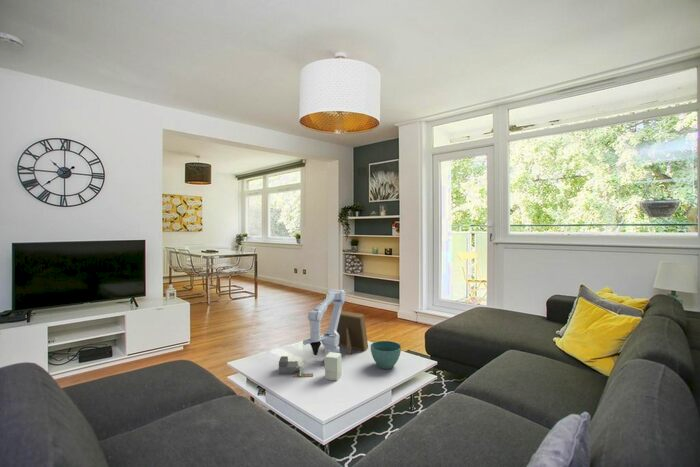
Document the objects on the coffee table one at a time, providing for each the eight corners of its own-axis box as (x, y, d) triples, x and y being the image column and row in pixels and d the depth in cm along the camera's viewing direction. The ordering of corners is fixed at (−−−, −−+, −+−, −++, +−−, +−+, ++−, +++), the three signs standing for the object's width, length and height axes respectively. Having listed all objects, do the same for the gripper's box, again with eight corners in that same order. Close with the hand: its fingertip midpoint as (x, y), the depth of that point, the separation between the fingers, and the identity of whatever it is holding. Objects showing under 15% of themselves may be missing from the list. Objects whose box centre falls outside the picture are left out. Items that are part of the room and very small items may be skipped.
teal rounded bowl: (365, 369, 205) (365, 348, 204) (376, 358, 221) (376, 338, 221) (395, 375, 197) (395, 353, 197) (404, 363, 214) (404, 343, 213)
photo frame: (341, 342, 248) (341, 308, 247) (368, 349, 237) (368, 312, 236) (329, 349, 236) (329, 313, 235) (356, 356, 224) (356, 317, 223)
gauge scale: (313, 373, 198) (313, 373, 198) (312, 376, 195) (312, 376, 195) (293, 374, 198) (293, 373, 198) (292, 377, 194) (292, 376, 194)
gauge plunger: (303, 367, 206) (303, 361, 206) (301, 376, 194) (301, 369, 194) (285, 367, 206) (285, 361, 205) (282, 376, 194) (282, 370, 194)
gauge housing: (297, 367, 206) (297, 356, 206) (295, 373, 198) (295, 361, 198) (281, 368, 206) (281, 356, 206) (278, 374, 198) (278, 361, 198)
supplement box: (341, 375, 196) (342, 353, 196) (337, 381, 189) (337, 358, 189) (329, 373, 199) (329, 351, 198) (324, 379, 192) (324, 356, 191)
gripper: (323, 327, 209) (323, 350, 210) (300, 331, 202) (300, 354, 202) (328, 330, 203) (328, 353, 203) (305, 334, 196) (305, 358, 196)
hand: (315, 354), depth 202 cm, fingers closed
